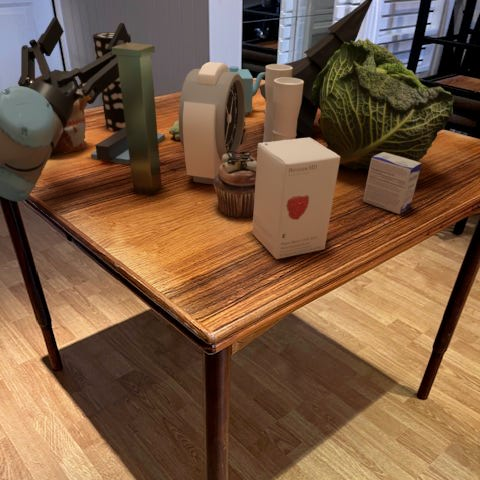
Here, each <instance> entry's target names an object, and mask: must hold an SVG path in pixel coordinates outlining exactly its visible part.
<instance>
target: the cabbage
mask: <svg viewBox="0 0 480 480" xmlns="http://www.w3.org/2000/svg"><path fill="white" fill-rule="evenodd" d="M312 92H313V93H312V96H310V98H312V101H311V103H312V105H313V106H316V107H318V110H320V117H319V118H318V119H317V123H318V125H319V128H320V129H321V138H322V140H323V141H324V143H325V144H326V146H325V147H326V148H327V149H329V150H331V151H333V152H334V153H336V154H337V155H339V156H340V162H339V166H341V165H342V166H344V167H346V168H349V169H351V170H357V169H366V170H369V168H370V163H371V158H372V157H373V156H375V155H378V154H380V153H383V152H386V153H389V154H393V155H396V156H400V157H403V158H407V159H410V160H413V161H417V162H420V160H422V159H423V158H424V157H425V156H426V155H428V150H429V149H430V148H431V147H432V146H433V143H434V142H435V140H436V139H437V138H438V133H439V132H441V131H443V130H445V127H446V125H447V123H448V122H449V121H450V119H451V117H452V116H453V113H454V108H453V103H454V102H455V97H454V95H453V94H452V93H451V92H450V91H446V90H445V89H444V88H443V87H441V86H434V87H428V86H426V85H424V84H422V82H421V81H420V79H419V78H418V77H417V76H416V75H415V73H414V72H413V70H411V69H407V67H406V65H404V63H403V61H402V60H400V59H399V58H397V56H396V55H394V54H393V53H392V51H390V50H389V49H388V48H386V47H385V46H383V45H380V44H377V43H374V42H372V41H371V40H370V39H369V37H367V38H366V39H365V40H363V39H356V40H355V42H354V41H350V43H346V42H344V44H342V46H341V48H340V49H339V50H338V51H336V52H335V54H334V55H333V56H332V57H331V58H330V60H329V61H328V63H327V65H326V66H325V68H324V69H323V70H322V71H321V72H320V73H319V74H318V76H317V78H316V80H315V82H314V85H313V88H312Z"/></svg>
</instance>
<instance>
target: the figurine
mask: <svg viewBox="0 0 480 480" xmlns="http://www.w3.org/2000/svg"><path fill="white" fill-rule="evenodd" d="M41 77H42V75H40V76H36V77H35V81H37V80H38V79H40V78H41ZM87 106H88V103H87V101H86V99H82V98H79V99H78V100H77V101H75V103H74V105H73V113H72V115H71V117H70V119H69V121H68V123H67V125H66V127H65V128H64V129H63V132H62V134H61V136H60V138H59V140H58V142H57V144H56V146H55V148H54V150H53V151H52V153H51V155H50V156H56V155H64V154H67V153H72V152H78V151H81V150H84V149H85V148H86V147H87V142H86V141H85V139H86V129H87V128H86V127H87V126H86V125H87V124H86V116H85V114H86V113H85V109H86V107H87Z"/></svg>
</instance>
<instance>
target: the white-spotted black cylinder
mask: <svg viewBox="0 0 480 480" xmlns="http://www.w3.org/2000/svg"><path fill="white" fill-rule="evenodd" d="M115 32H116V31H113V32H112V31H111V32H110V31H109V32H108V31H107V32H106V31H105V32H96V33H94V34H92V41H93V46H94V47H93V48H94V53H95V60H97V59H98V58H100V57H102V56H104V55H105V54H107V53H108V52H107V47H108V45H109V43H110V41H111V39H112V37H113V36H114V34H115ZM128 36H129V39H128V41H127V43H132V36H131V34H129V33H128ZM100 95H101V102H102V107H103V115H104V121H105V128H106V130H108V131H110V132H115V133H116V132H118V131H120V130H121V129H123V128H125V127H126V126H125V118H124V109H123V101H122V93H121V85H120V77H119V78H118V79H117V80H116V81H114V82H113V83H112V84H111V85H110V86H109V87H107V88H106V89H105V90H104V91H103V92H101V93H100Z"/></svg>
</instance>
